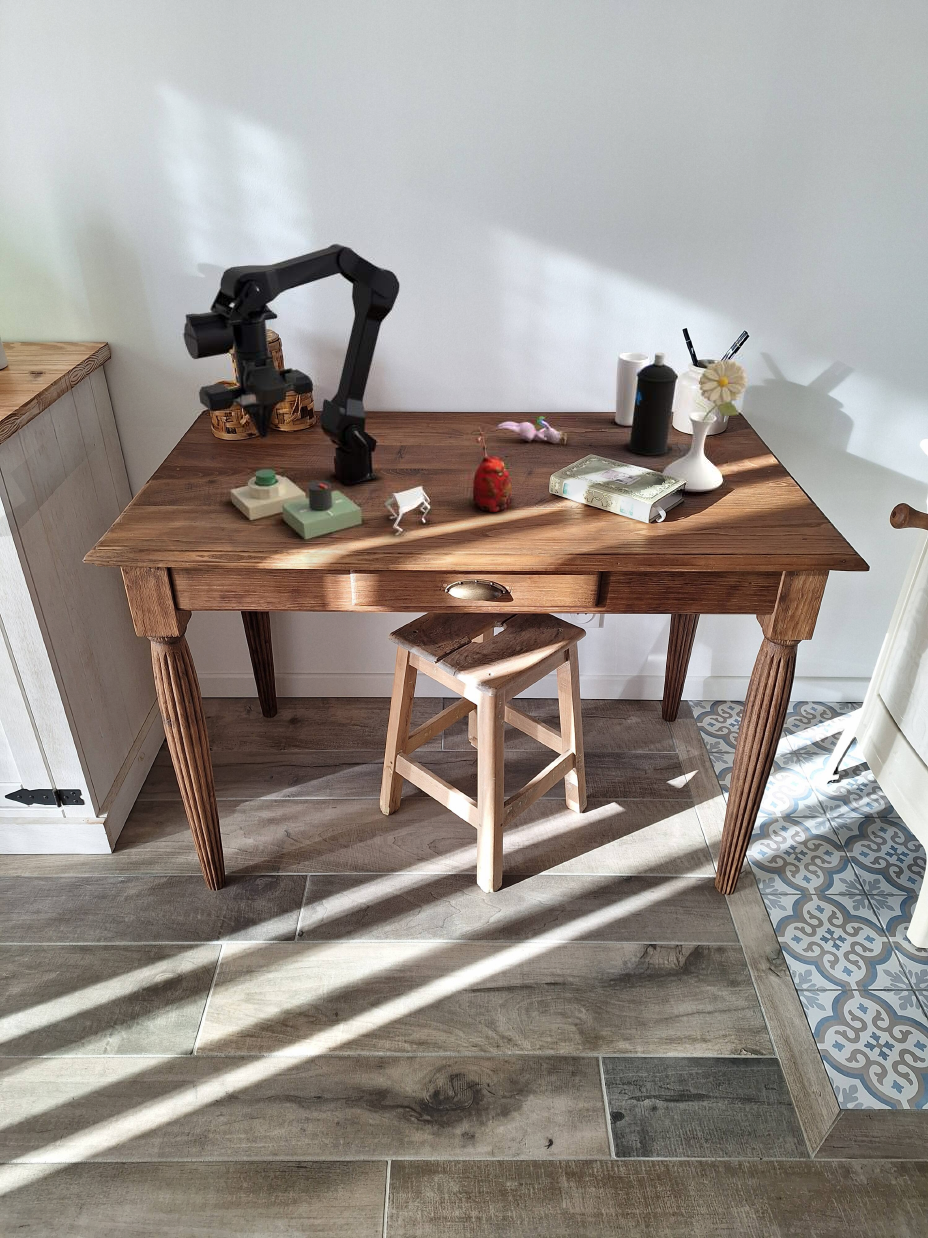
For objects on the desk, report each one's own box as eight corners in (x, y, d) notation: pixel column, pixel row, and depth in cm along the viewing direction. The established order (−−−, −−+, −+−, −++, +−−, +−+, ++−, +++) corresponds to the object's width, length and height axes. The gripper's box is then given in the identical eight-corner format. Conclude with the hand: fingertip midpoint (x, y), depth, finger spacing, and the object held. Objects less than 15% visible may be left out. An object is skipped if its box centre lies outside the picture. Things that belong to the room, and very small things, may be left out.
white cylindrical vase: (611, 426, 191) (618, 360, 183) (611, 416, 197) (618, 351, 189) (641, 428, 190) (650, 361, 182) (641, 418, 196) (649, 352, 188)
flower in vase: (649, 485, 165) (667, 356, 151) (680, 468, 172) (700, 343, 158) (710, 505, 158) (734, 371, 144) (739, 487, 165) (765, 357, 151)
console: (338, 505, 157) (337, 489, 155) (361, 523, 151) (360, 507, 149) (283, 519, 152) (281, 503, 150) (305, 539, 145) (303, 523, 144)
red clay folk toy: (503, 516, 153) (506, 437, 145) (466, 511, 155) (467, 432, 147) (514, 499, 159) (517, 422, 151) (478, 494, 161) (479, 417, 153)
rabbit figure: (563, 442, 187) (496, 429, 186) (570, 416, 184) (502, 403, 183) (564, 453, 182) (495, 439, 181) (570, 427, 178) (500, 413, 178)
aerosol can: (673, 446, 182) (687, 352, 171) (658, 459, 176) (672, 362, 165) (637, 438, 185) (648, 346, 175) (622, 450, 180) (632, 355, 169)
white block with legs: (387, 508, 156) (385, 483, 153) (432, 509, 155) (432, 484, 153) (378, 539, 146) (377, 513, 143) (427, 540, 145) (426, 514, 143)
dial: (304, 506, 149) (302, 483, 147) (322, 499, 152) (320, 476, 149) (319, 513, 147) (317, 490, 145) (337, 505, 150) (335, 483, 147)
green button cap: (271, 477, 157) (270, 467, 156) (279, 484, 154) (278, 474, 153) (253, 482, 155) (251, 471, 154) (261, 489, 153) (259, 478, 152)
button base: (286, 488, 163) (284, 466, 160) (306, 505, 157) (304, 483, 154) (231, 502, 158) (228, 479, 155) (250, 520, 151) (247, 497, 149)
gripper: (215, 369, 133) (230, 463, 141) (323, 351, 142) (330, 440, 150) (190, 352, 141) (206, 442, 149) (294, 336, 149) (303, 421, 158)
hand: (263, 436), depth 151 cm, fingers closed
